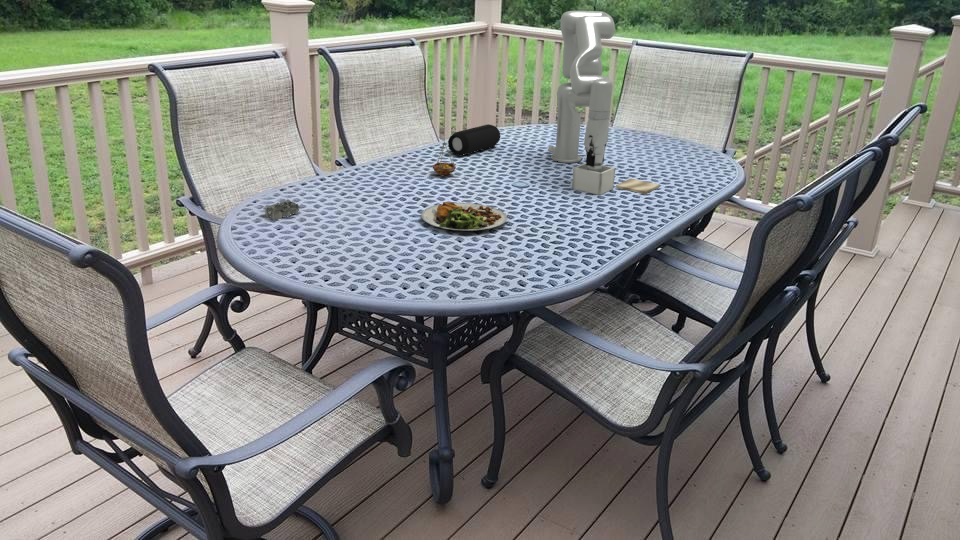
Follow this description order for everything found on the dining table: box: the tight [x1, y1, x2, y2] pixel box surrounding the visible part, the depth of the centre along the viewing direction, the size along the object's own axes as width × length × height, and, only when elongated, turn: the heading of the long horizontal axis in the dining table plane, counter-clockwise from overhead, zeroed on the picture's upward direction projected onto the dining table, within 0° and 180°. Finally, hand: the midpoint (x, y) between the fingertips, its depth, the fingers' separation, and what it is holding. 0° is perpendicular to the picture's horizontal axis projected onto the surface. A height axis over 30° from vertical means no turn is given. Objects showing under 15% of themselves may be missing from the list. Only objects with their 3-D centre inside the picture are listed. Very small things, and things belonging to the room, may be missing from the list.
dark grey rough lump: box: [262, 198, 302, 220], centre depth 256 cm, size 11×8×4 cm
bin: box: [571, 162, 616, 196], centre depth 293 cm, size 12×11×8 cm
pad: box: [615, 178, 660, 195], centre depth 298 cm, size 12×12×1 cm
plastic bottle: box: [587, 145, 606, 173], centre depth 291 cm, size 6×7×20 cm
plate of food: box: [420, 201, 508, 231], centre depth 256 cm, size 28×28×6 cm
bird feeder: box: [432, 99, 457, 176], centre depth 299 cm, size 9×9×30 cm
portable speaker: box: [447, 123, 501, 156], centre depth 339 cm, size 26×10×10 cm, turn 141°
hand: (594, 163), depth 291 cm, fingers closed on plastic bottle, 6 cm apart
